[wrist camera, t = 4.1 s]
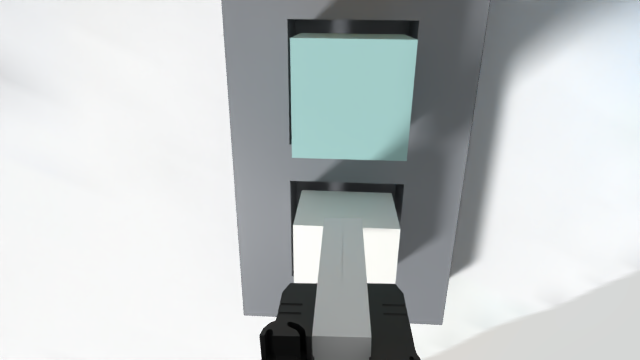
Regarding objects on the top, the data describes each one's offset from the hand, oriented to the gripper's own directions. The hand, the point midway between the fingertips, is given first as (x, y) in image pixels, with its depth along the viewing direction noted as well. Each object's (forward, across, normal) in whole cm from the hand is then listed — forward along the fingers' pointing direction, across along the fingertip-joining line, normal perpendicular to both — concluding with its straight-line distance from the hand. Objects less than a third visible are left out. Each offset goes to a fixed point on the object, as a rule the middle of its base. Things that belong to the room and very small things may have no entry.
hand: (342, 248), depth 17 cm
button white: (+6, 0, -2) cm, 6 cm away
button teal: (+6, 0, +5) cm, 8 cm away
